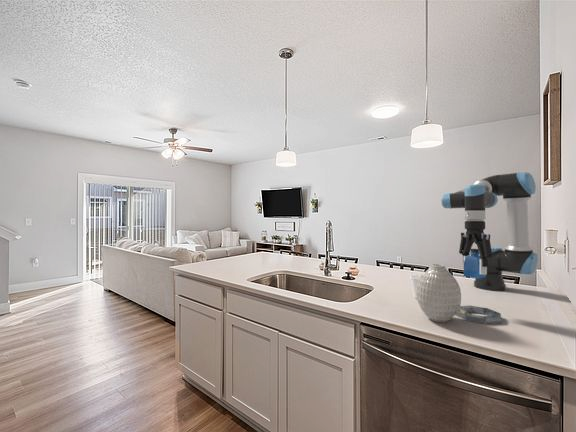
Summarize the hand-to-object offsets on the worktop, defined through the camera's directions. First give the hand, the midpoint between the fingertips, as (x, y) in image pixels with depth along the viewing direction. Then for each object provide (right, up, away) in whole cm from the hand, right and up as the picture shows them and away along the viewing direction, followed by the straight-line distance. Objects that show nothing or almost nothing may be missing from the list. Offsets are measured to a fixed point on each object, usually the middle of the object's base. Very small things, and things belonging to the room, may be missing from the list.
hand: (474, 272), depth 122 cm
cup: (-14, -18, +20) cm, 30 cm away
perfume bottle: (0, -2, 0) cm, 2 cm away
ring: (-2, -18, -5) cm, 18 cm away
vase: (-20, -18, -8) cm, 28 cm away
